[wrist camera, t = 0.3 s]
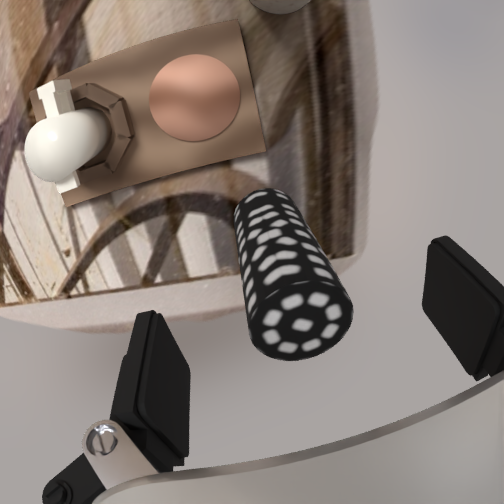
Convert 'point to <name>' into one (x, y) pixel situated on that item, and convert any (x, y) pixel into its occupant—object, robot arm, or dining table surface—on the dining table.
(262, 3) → the thermos bottle
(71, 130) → the white ceramic pitcher
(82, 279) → the dining table surface
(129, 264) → the dining table surface
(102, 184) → the holder board
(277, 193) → the white-spotted black cylinder
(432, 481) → the robot arm
